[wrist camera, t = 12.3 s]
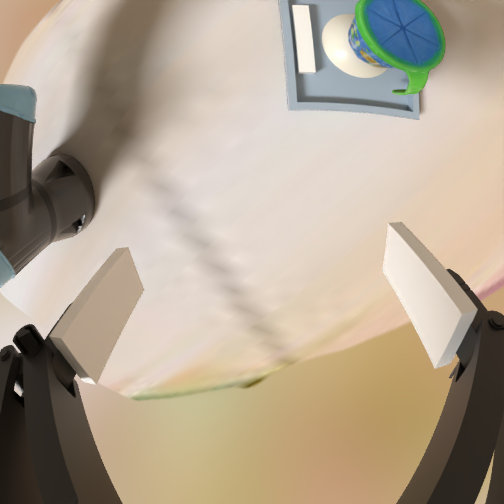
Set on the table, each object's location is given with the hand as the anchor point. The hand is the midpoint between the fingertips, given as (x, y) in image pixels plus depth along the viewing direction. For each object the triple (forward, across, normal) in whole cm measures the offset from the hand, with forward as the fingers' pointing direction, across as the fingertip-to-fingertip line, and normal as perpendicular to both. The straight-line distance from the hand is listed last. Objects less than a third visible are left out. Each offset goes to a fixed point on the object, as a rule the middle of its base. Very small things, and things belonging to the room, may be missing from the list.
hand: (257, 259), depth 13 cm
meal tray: (+26, +14, +16) cm, 33 cm away
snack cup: (+25, +17, +16) cm, 34 cm away
